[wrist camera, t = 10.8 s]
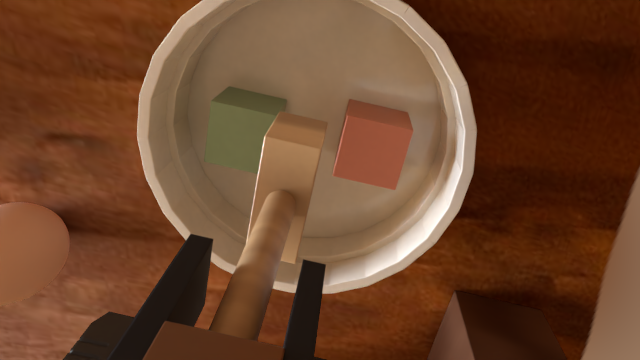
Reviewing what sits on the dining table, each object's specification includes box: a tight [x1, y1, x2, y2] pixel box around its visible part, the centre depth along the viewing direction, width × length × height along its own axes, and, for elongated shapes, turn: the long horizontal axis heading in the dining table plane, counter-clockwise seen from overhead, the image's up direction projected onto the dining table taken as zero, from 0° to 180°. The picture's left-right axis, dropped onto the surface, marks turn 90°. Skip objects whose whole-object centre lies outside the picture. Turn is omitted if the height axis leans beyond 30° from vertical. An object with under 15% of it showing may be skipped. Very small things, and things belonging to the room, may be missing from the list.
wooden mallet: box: [143, 111, 328, 360], centre depth 17 cm, size 6×3×17 cm, turn 168°
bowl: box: [137, 0, 477, 294], centre depth 30 cm, size 19×19×6 cm
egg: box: [0, 202, 70, 306], centre depth 34 cm, size 7×7×9 cm
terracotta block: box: [332, 99, 414, 190], centre depth 30 cm, size 4×4×4 cm
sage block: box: [204, 86, 287, 174], centre depth 31 cm, size 4×4×4 cm
